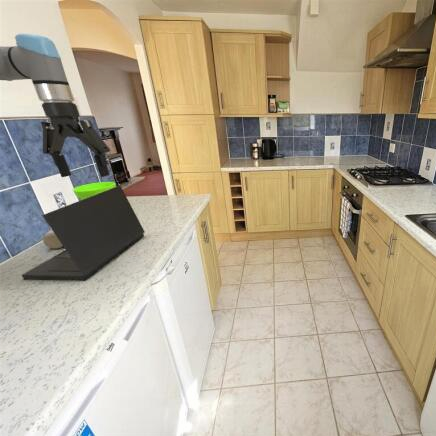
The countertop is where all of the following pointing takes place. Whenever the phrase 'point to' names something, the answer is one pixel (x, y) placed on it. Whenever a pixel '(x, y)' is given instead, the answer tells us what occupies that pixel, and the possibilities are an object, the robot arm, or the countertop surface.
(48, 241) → the ceramic mug
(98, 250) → the laptop screen
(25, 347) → the countertop surface
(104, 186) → the wineglass
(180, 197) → the countertop surface
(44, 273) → the laptop
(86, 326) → the countertop surface
